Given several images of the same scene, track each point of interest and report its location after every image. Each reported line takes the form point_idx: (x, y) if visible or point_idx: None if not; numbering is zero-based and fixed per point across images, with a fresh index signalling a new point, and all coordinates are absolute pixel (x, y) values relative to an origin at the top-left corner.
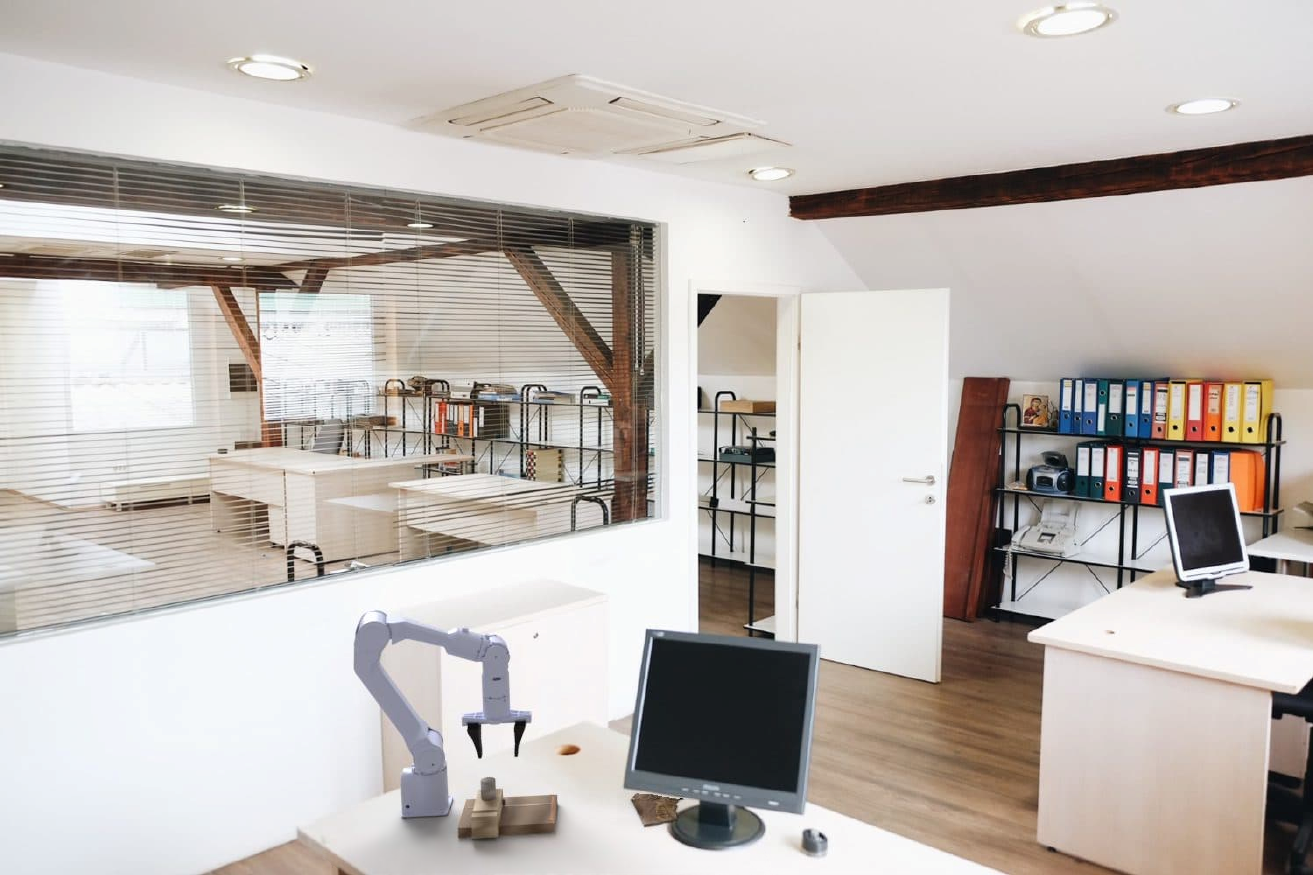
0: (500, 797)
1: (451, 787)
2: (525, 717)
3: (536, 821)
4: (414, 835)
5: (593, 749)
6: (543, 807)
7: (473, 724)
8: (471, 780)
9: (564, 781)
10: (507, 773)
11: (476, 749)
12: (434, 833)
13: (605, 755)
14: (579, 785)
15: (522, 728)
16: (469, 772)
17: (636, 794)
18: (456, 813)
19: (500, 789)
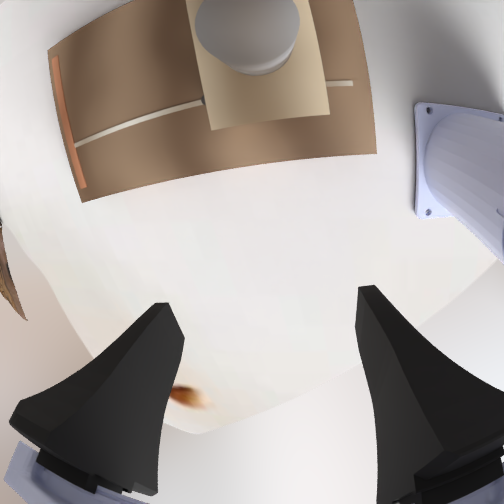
0: (196, 47)
1: (418, 272)
2: (21, 480)
3: (86, 36)
4: (457, 16)
5: None
6: (87, 118)
7: (462, 491)
8: None
9: (131, 300)
10: (283, 338)
11: (403, 317)
12: (414, 9)
13: None
14: (94, 281)
15: (12, 417)
16: None
17: (2, 240)
18: (390, 116)
19: (220, 120)
